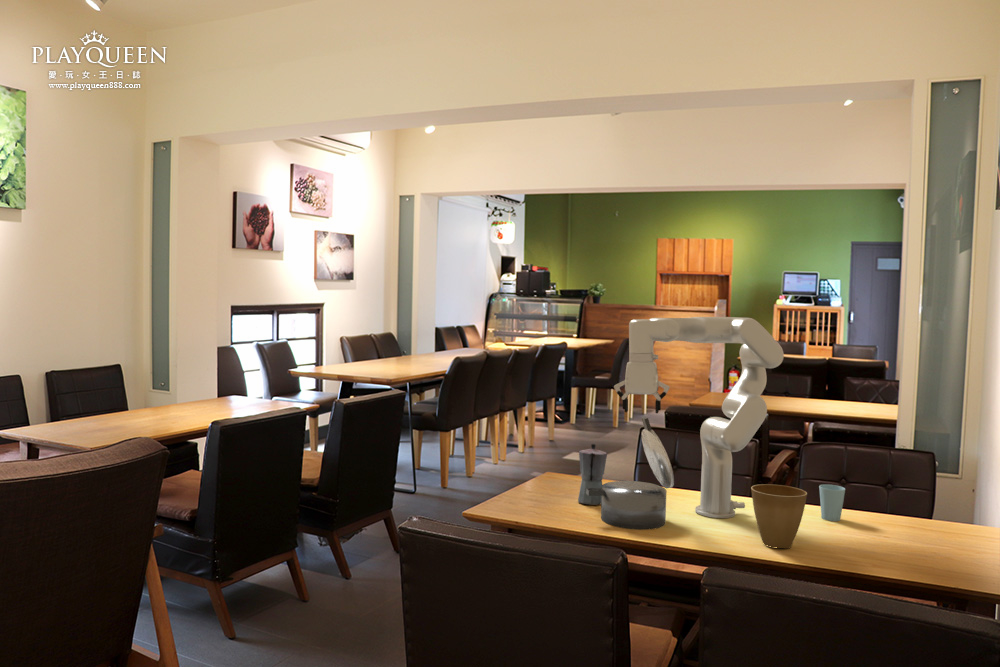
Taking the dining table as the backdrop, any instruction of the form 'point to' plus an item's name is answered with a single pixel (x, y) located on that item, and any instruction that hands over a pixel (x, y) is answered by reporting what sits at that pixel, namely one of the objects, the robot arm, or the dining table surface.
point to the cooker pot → (632, 504)
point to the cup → (831, 501)
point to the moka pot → (591, 473)
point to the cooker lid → (657, 455)
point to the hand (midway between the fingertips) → (641, 412)
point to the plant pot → (778, 513)
